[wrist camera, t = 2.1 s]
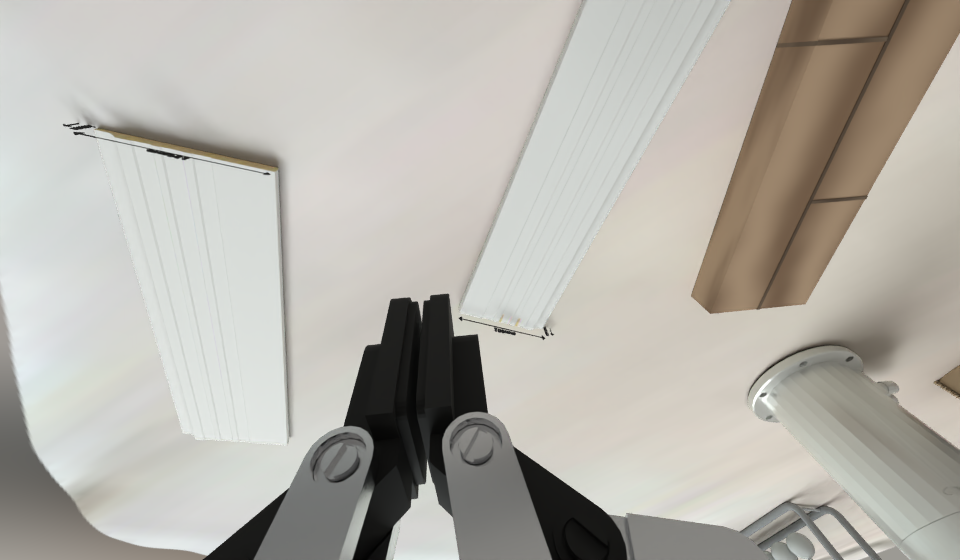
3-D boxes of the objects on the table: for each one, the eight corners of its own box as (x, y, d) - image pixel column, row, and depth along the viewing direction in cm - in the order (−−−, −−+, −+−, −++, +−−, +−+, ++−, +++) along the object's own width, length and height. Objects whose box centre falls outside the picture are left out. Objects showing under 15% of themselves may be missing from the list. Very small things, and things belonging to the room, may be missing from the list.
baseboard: (780, -57, 20) (640, -154, 18) (825, -74, 18) (671, -188, 15) (552, 327, 34) (457, 303, 32) (560, 346, 32) (458, 323, 29)
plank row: (996, -144, 18) (1079, -175, 16) (779, 287, 33) (805, 304, 31) (839, -139, 18) (900, -170, 16) (691, 296, 33) (710, 314, 31)
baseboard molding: (173, 424, 37) (292, 432, 39) (153, 449, 34) (282, 457, 37) (78, 119, 22) (284, 164, 24) (31, 126, 19) (266, 176, 22)
